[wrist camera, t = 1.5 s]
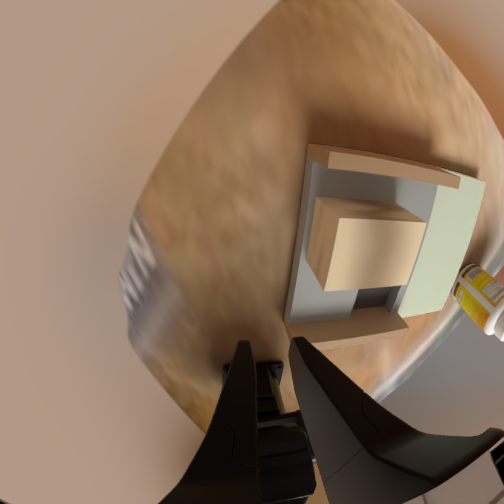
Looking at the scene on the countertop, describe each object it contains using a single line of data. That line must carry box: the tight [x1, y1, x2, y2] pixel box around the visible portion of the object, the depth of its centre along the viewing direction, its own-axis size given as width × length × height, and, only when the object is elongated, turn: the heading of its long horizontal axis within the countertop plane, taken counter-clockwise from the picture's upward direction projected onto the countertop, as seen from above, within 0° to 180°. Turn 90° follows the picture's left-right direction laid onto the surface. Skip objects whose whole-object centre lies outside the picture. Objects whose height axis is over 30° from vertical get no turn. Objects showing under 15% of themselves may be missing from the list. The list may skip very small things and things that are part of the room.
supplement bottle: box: [452, 264, 504, 341], centre depth 23 cm, size 6×6×10 cm
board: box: [283, 143, 486, 350], centre depth 21 cm, size 20×16×4 cm
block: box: [306, 197, 427, 292], centre depth 18 cm, size 7×5×4 cm
